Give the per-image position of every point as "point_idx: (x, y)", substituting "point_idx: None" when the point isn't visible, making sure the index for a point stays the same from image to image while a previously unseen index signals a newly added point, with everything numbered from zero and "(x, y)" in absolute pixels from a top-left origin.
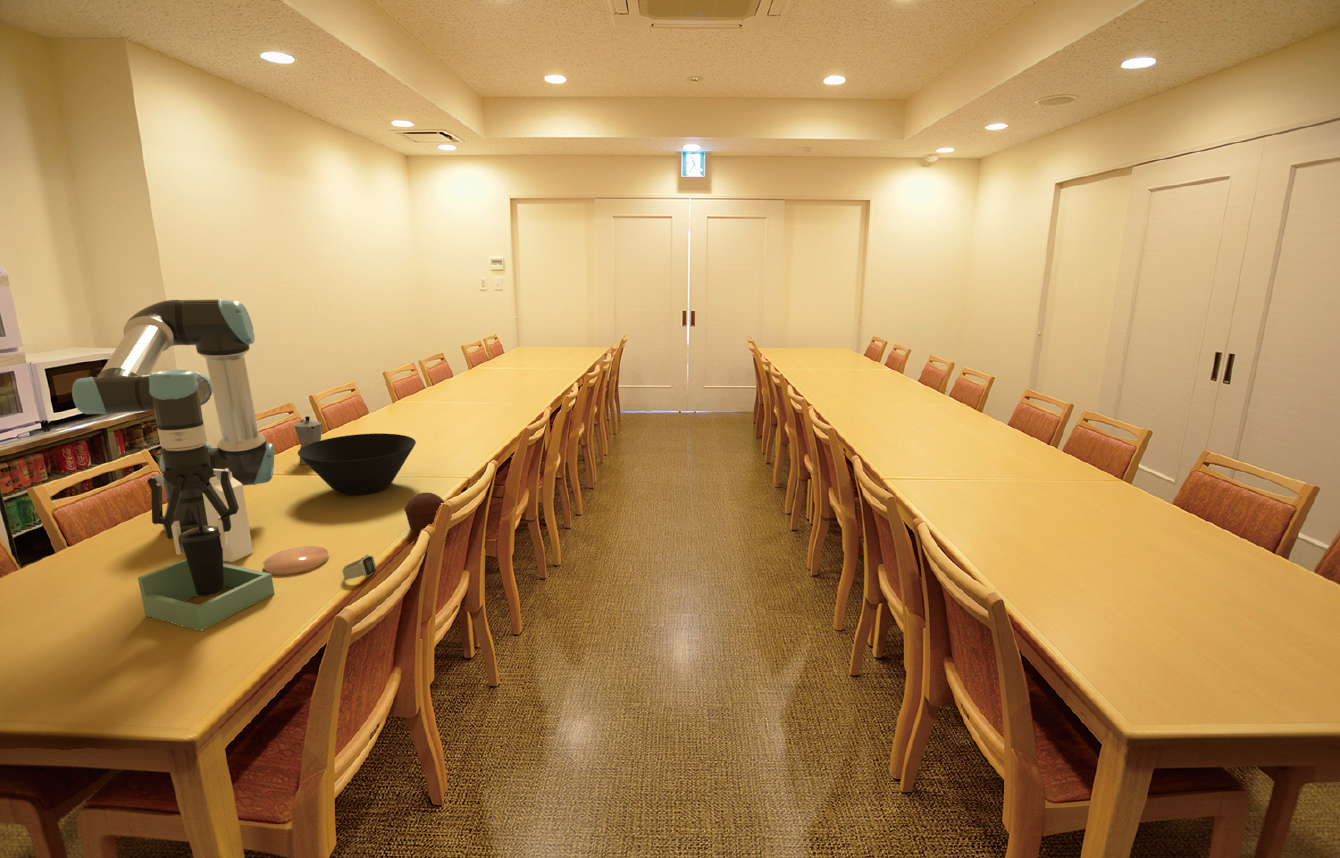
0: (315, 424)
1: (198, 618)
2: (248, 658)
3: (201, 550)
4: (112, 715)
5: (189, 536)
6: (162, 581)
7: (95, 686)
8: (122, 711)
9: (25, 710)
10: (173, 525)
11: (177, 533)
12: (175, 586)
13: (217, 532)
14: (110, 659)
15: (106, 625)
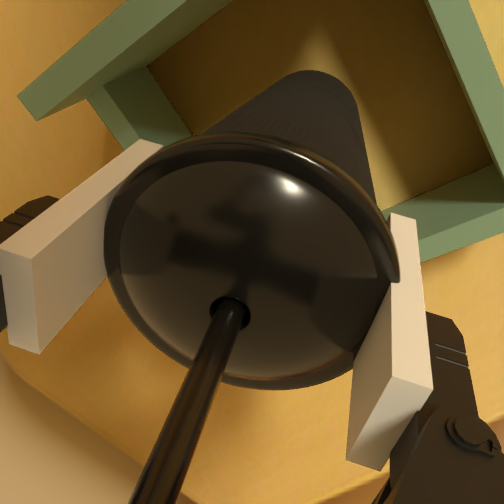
0: None
1: None
2: (343, 449)
3: (250, 317)
4: (141, 443)
5: (168, 343)
6: (122, 63)
7: (94, 352)
8: (152, 444)
9: (12, 348)
10: (23, 345)
11: (84, 297)
12: (180, 27)
13: (343, 356)
14: None
15: (21, 47)
